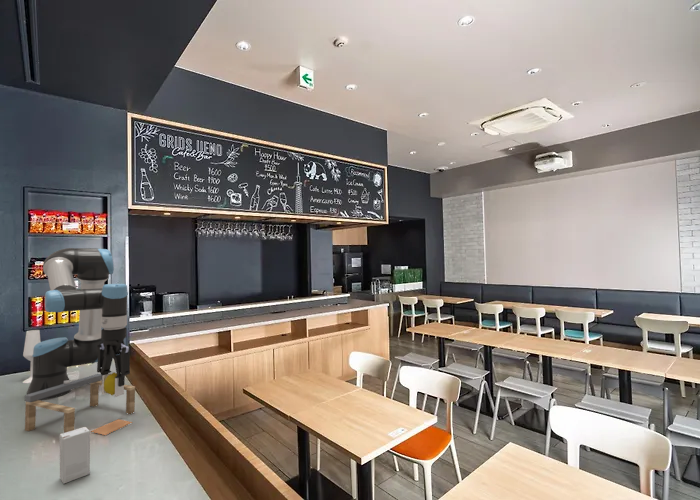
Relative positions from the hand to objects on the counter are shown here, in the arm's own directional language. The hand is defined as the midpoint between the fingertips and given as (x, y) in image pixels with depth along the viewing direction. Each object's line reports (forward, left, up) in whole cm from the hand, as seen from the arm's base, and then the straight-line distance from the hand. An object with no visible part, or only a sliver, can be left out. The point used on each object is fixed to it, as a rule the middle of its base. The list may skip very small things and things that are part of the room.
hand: (112, 394), depth 128 cm
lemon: (0, 0, -1) cm, 1 cm away
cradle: (-15, 0, -12) cm, 19 cm away
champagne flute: (-83, +21, -12) cm, 87 cm away
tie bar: (-24, 0, -2) cm, 24 cm away
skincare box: (+18, -24, -12) cm, 32 cm away
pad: (0, 0, -12) cm, 12 cm away
